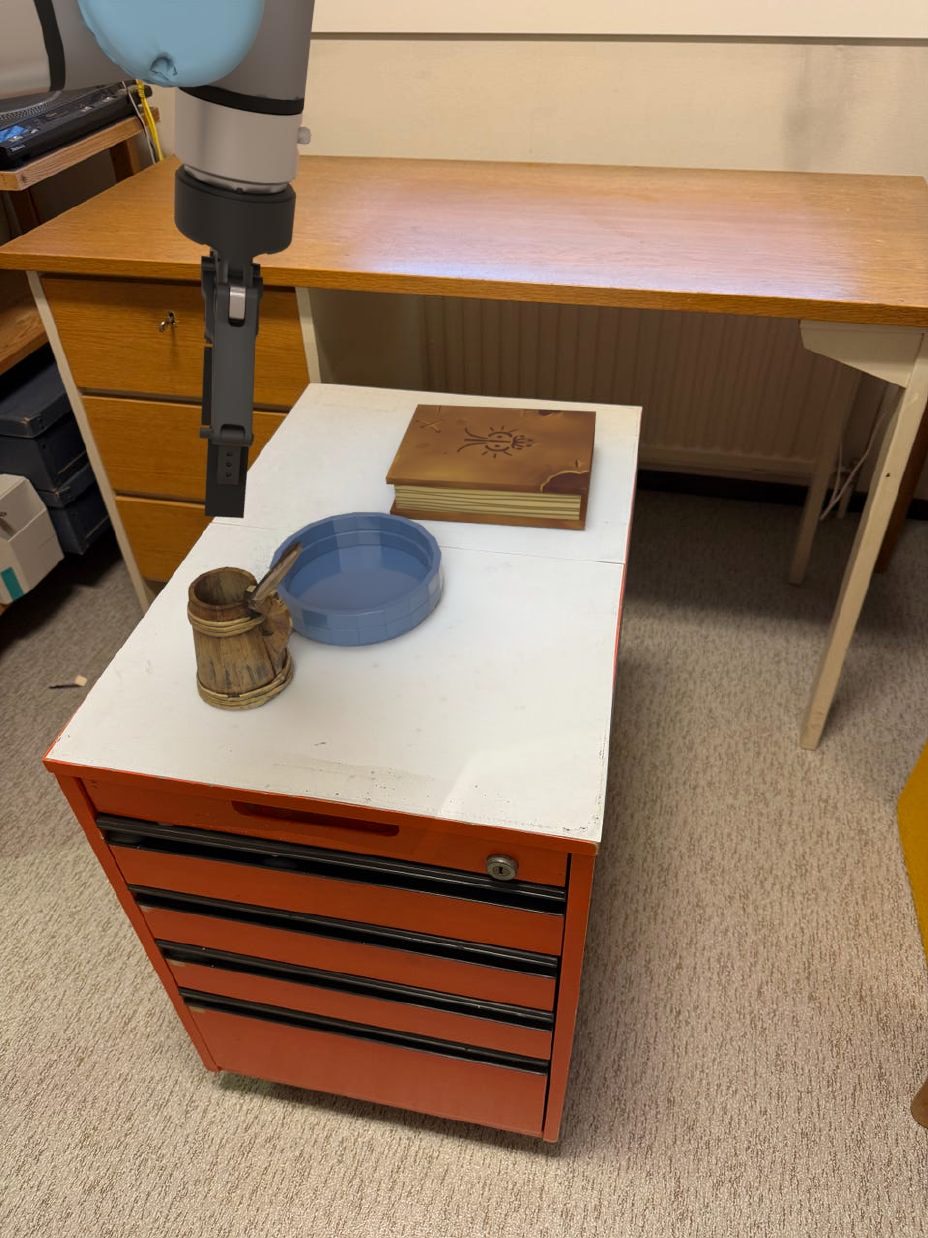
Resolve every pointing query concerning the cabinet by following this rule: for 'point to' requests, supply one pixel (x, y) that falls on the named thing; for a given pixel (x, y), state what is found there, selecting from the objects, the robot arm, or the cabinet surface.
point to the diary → (495, 466)
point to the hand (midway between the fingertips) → (220, 466)
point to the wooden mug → (241, 634)
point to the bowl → (361, 578)
